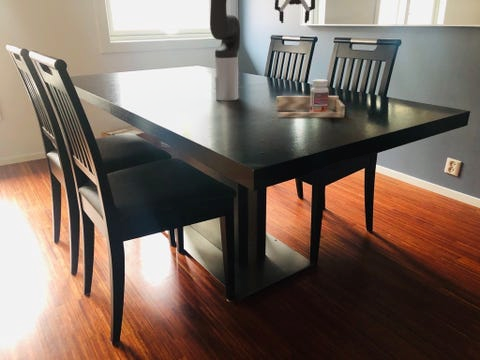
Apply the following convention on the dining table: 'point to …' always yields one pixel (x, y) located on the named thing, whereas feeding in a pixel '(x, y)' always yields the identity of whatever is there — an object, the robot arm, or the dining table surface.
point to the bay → (308, 107)
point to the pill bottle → (319, 96)
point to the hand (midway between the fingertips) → (294, 22)
